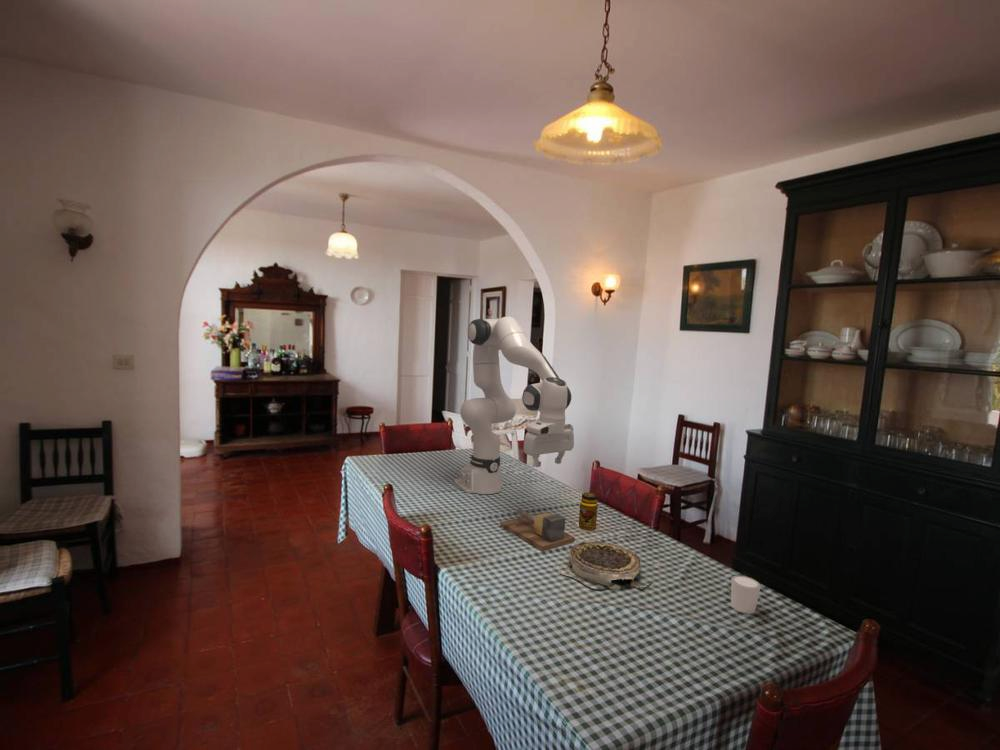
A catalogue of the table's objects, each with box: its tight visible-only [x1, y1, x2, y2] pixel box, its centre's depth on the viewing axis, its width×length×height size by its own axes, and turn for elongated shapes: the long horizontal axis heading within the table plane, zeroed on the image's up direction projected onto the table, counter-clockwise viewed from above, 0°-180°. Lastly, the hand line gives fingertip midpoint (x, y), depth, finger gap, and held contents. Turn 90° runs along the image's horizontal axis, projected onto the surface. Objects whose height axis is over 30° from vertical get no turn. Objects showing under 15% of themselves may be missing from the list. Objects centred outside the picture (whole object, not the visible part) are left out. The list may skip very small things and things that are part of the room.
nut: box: [534, 512, 552, 536], centre depth 166 cm, size 4×6×6 cm
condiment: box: [572, 492, 601, 533], centre depth 177 cm, size 7×8×12 cm
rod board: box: [499, 508, 576, 552], centre depth 169 cm, size 22×14×8 cm, turn 37°
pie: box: [556, 540, 652, 591], centre depth 147 cm, size 28×27×5 cm
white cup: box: [730, 575, 762, 615], centre depth 130 cm, size 7×7×7 cm
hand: (547, 464), depth 173 cm, fingers open, 8 cm apart
